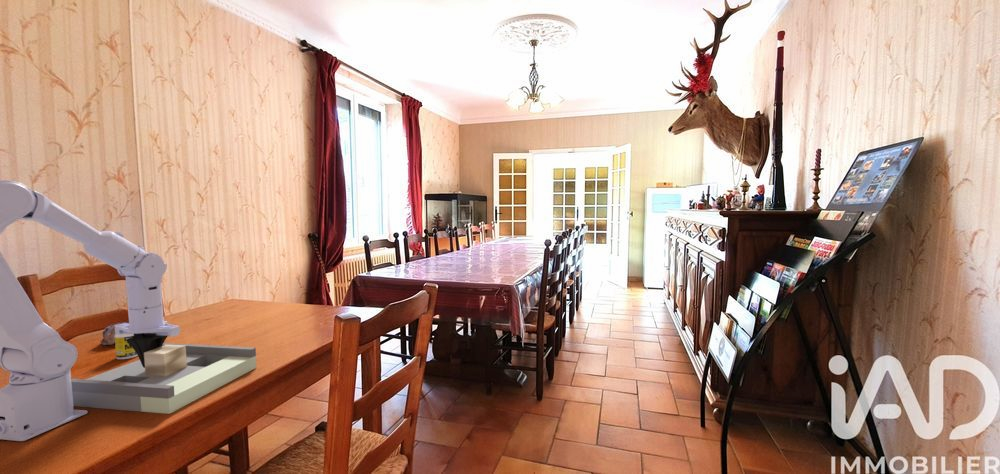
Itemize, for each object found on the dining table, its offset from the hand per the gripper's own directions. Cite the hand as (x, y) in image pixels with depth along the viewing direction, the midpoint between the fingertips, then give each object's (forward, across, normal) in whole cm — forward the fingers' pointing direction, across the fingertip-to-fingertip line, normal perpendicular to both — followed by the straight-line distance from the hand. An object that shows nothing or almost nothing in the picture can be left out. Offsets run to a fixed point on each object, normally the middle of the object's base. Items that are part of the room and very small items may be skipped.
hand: (150, 366), depth 88 cm
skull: (+4, +39, -23) cm, 45 cm away
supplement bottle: (+4, +22, -13) cm, 26 cm away
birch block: (+1, -4, 0) cm, 4 cm away
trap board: (+4, -4, 0) cm, 6 cm away
